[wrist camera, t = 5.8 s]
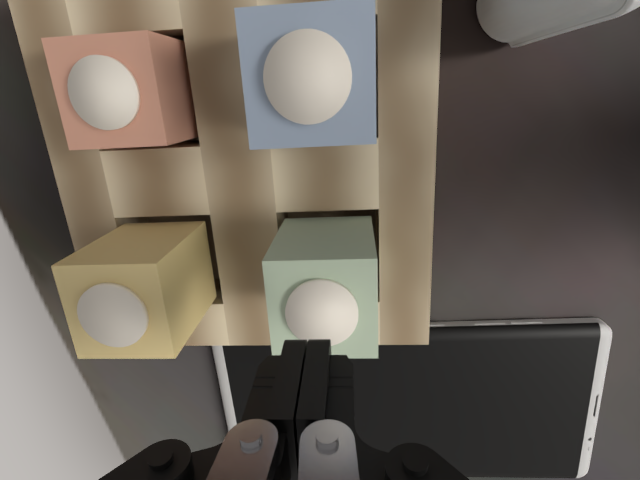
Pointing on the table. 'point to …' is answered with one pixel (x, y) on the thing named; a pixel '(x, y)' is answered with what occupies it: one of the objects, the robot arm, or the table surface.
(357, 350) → the button
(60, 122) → the board
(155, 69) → the button
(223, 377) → the smartphone
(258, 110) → the button
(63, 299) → the button
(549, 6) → the photo printer
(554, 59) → the table surface
